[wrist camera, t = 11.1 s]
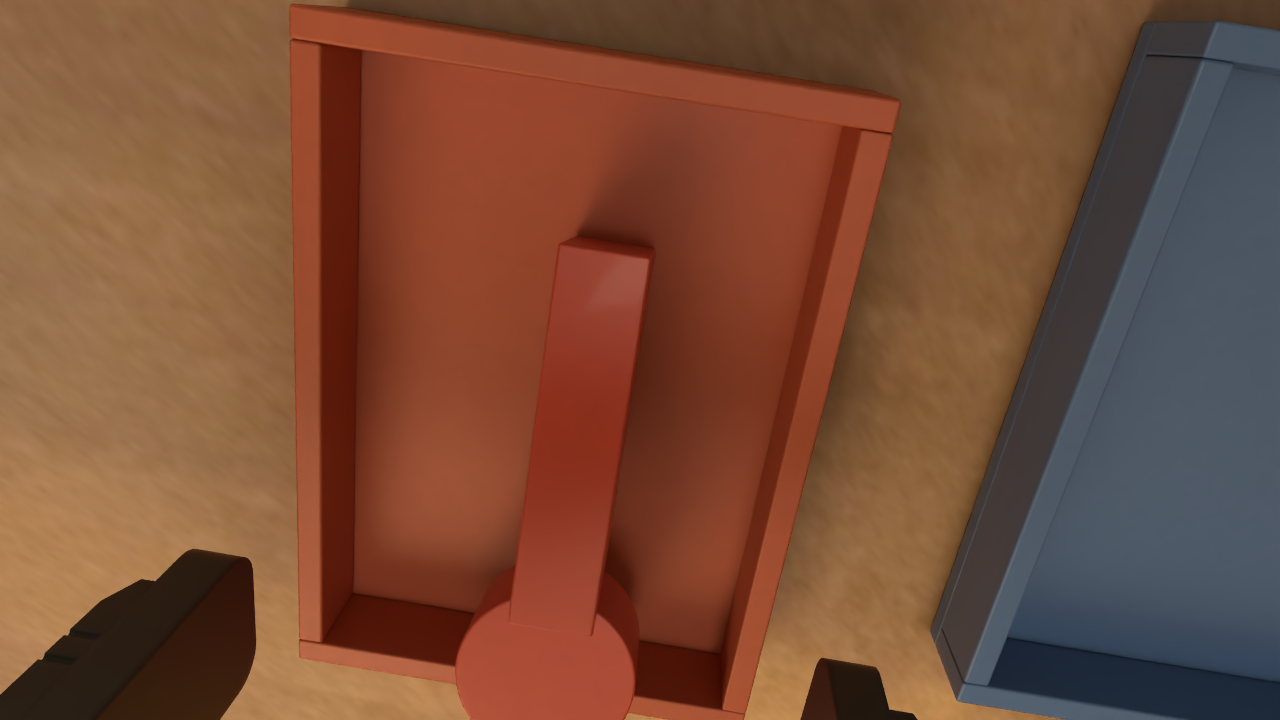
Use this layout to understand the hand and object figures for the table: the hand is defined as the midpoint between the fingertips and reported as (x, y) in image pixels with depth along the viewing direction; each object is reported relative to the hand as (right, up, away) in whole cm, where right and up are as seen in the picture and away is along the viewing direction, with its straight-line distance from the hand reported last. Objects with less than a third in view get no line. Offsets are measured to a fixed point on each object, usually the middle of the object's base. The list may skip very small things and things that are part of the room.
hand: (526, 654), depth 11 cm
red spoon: (0, +2, +8) cm, 8 cm away
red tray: (0, +4, +8) cm, 9 cm away
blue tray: (+16, +3, +7) cm, 18 cm away
